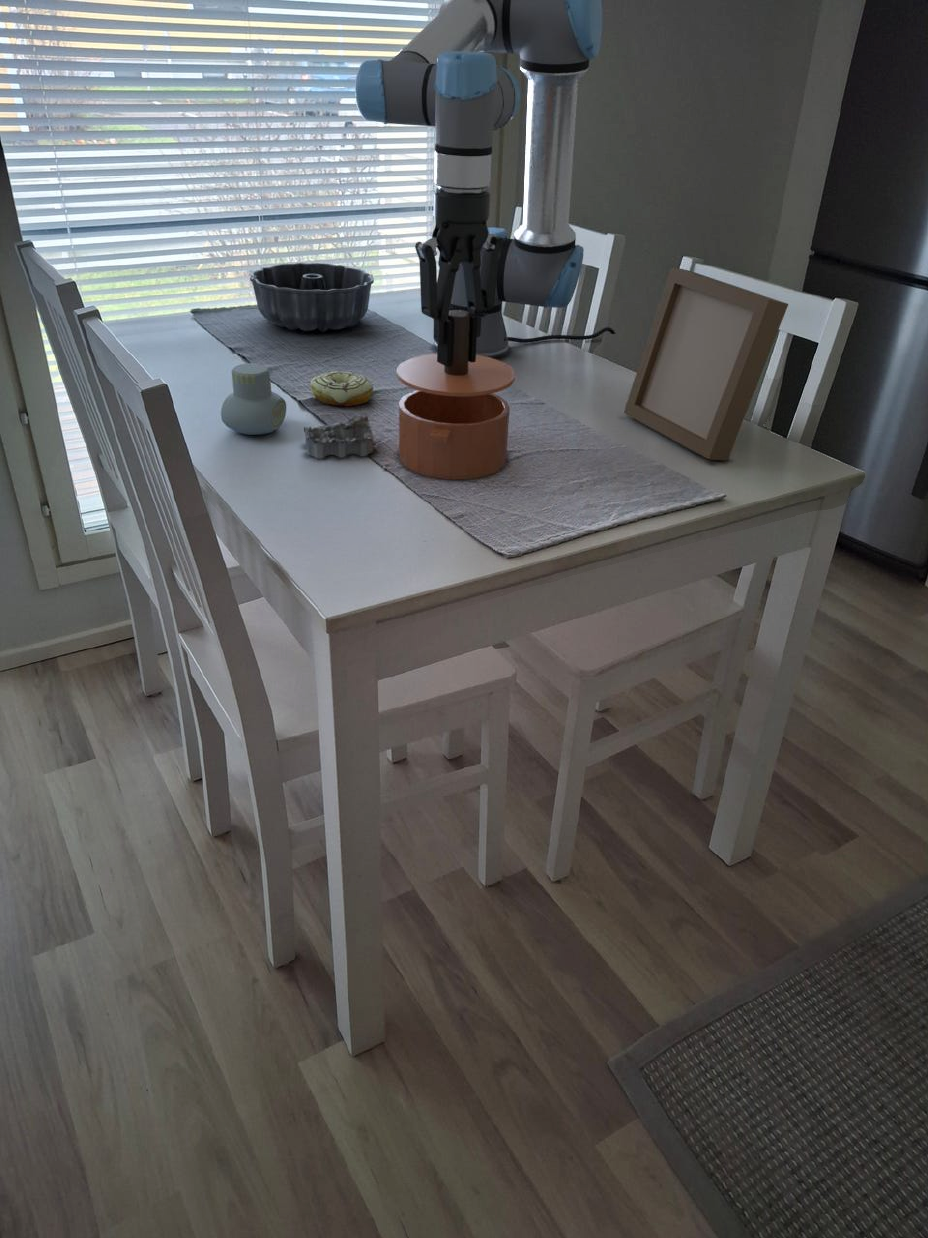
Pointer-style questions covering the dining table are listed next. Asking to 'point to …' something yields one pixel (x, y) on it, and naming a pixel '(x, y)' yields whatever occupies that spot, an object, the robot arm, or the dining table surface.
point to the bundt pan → (312, 295)
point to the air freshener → (253, 402)
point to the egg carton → (340, 439)
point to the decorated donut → (341, 388)
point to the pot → (453, 434)
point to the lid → (456, 368)
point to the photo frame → (703, 361)
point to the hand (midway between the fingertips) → (456, 361)
